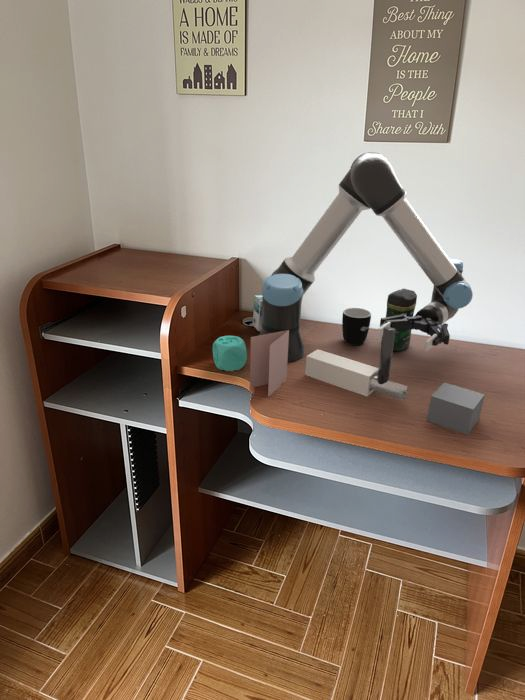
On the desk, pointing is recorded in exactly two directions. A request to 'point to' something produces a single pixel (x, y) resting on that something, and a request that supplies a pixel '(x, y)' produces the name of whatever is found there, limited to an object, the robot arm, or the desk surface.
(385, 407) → the desk surface
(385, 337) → the slide bolt
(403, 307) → the coffee jar
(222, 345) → the decorative dice
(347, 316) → the mug
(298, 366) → the desk surface
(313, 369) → the elongated cream cuboid
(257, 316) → the light bulb box
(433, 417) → the socket block
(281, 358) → the greeting card
